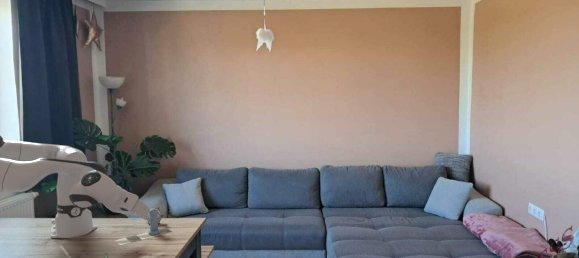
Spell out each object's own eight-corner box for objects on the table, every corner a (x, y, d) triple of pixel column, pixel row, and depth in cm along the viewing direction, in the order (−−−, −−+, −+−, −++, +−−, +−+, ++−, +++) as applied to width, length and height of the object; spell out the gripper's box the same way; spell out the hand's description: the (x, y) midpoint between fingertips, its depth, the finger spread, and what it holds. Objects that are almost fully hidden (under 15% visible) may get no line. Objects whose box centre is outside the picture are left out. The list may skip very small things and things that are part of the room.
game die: (156, 233, 194) (156, 221, 187) (140, 226, 195) (139, 214, 188) (167, 219, 200) (167, 206, 194) (152, 212, 202) (151, 199, 195)
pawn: (147, 233, 181) (145, 208, 179) (157, 230, 184) (155, 206, 182) (151, 236, 177) (149, 210, 176) (161, 233, 180) (159, 208, 179)
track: (114, 243, 173) (114, 240, 173) (166, 230, 188) (166, 227, 187) (120, 248, 168) (120, 245, 168) (172, 234, 182) (172, 231, 182)
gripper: (94, 203, 165) (116, 220, 175) (131, 210, 156) (152, 226, 165) (103, 190, 168) (124, 206, 178) (139, 195, 159) (160, 212, 169)
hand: (138, 216), depth 172 cm, fingers open, 8 cm apart
